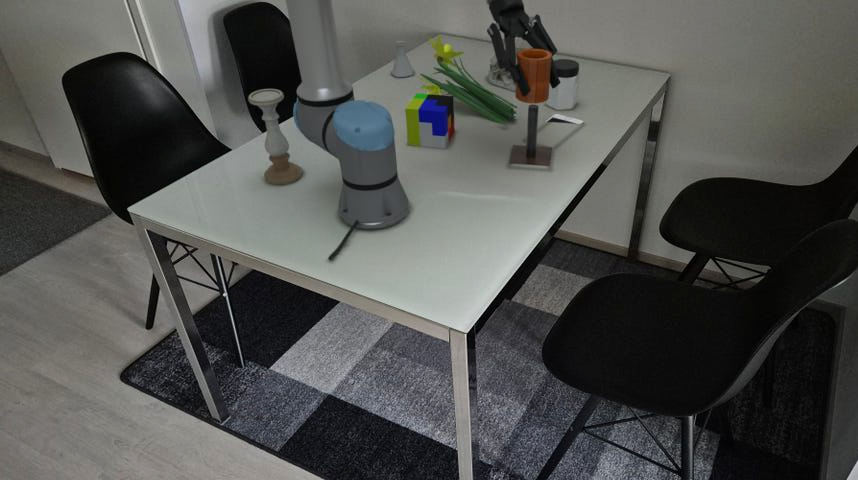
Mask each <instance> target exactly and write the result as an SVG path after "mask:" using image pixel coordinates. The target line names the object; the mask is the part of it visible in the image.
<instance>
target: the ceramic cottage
mask: <svg viewBox="0 0 858 480" xmlns="http://www.w3.org/2000/svg"><path fill="white" fill-rule="evenodd" d="M501 37H502V41H503V44H504V48H505V52H506V47H505V42H504V36H501ZM524 49H532V47H531V46H530V45H529V43H528V42H527V41H526V40H523V39H522V38H521V37H516V38H515V55H516V64H515V65H517V54H518V52H519V51H521V50H524ZM489 62H490V64H489V70H488V73H487V76H486V81H487V82H488V83H490V84H491V85H495V86H497V87H501V88H504V89H506V90H509V91H511V92H516V82H514V81H513V79H512V76H511V74H510V72H506V71H505V68H503V69H500V68H499V66H498V62H497V58H496V55H495V53H494V54H493V56H492V57H491V58H490V59H489Z"/></svg>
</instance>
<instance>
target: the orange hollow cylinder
mask: <svg viewBox="0 0 858 480" xmlns="http://www.w3.org/2000/svg"><path fill="white" fill-rule="evenodd" d="M551 58H553V56H552V54H551V53H550V52H549V51H547V50H543V49H533V48H532V47H531V48H530V49H524V50H521V51H519V52H518V54H517V64H520V66H521V68H522V71H523V73H524V75H525V78H526V80H527V82H528V85H529V87H530V90H531V91H530V92H529V93H528V94H527V95H526V96H522V94H521V91H520V89H519V87H518V84H517V82H516V91H515V99H517V101H519V102H522V103H525V104H534V105H536V104H543V103H544V102H547V100H548V97H549V85H550V71H551Z"/></svg>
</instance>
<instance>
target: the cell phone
mask: <svg viewBox="0 0 858 480" xmlns="http://www.w3.org/2000/svg"><path fill="white" fill-rule="evenodd" d="M544 122H545V123H558V124H560V123H561V124H573V125H574V124H575V125H584V123H585V122H584V120H582V119H578V118H574V117H570V116H566V115H563V114H559V113H555V114H553V115H552V116H551V117H549V118H548V119H546V120H545V121H544Z"/></svg>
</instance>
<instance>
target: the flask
mask: <svg viewBox="0 0 858 480" xmlns="http://www.w3.org/2000/svg"><path fill="white" fill-rule="evenodd" d="M394 44H395V46H396V53H395V54H396V55H395V58H394V62H393V67H392V71H391V75H392V76H394V77H396V78H406V77H410V76H413V75H414V69H413V67H412V64H411V62H410V59H409V57H408V55H407V52H406V47H405V46H406V41H404V40H398V41H395V43H394Z"/></svg>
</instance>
